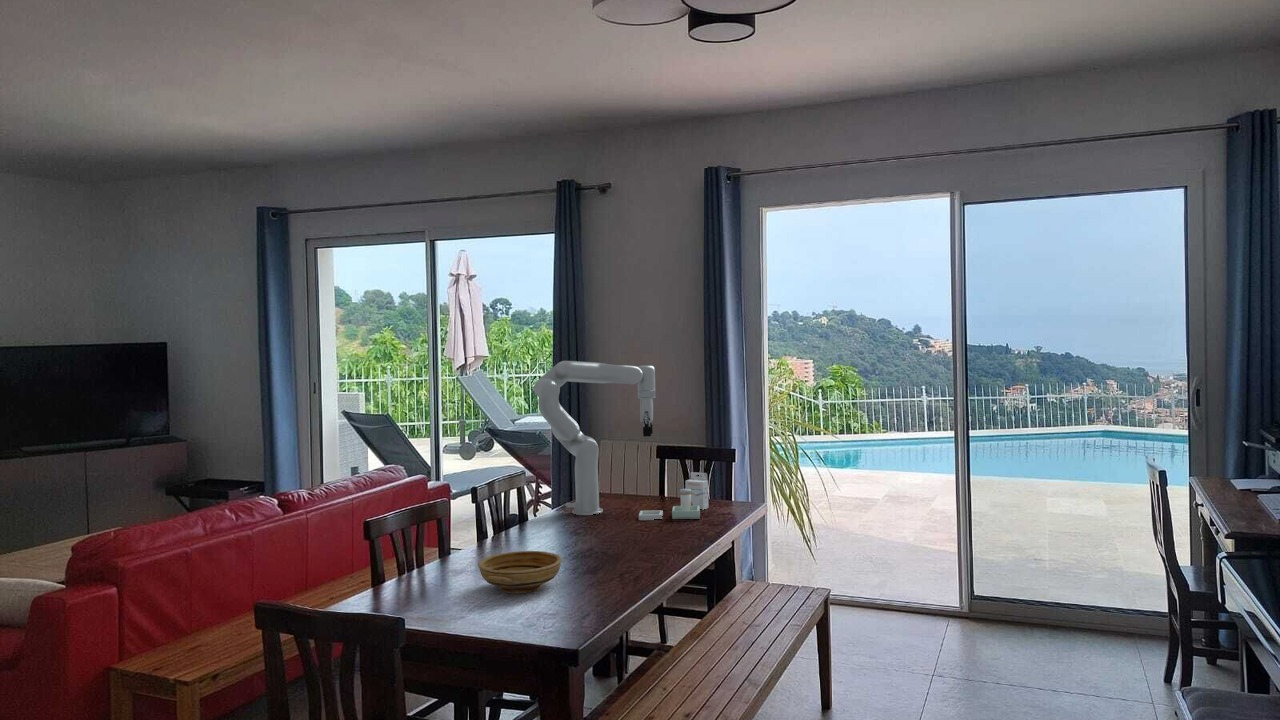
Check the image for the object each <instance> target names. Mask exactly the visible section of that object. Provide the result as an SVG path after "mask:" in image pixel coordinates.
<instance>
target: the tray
mask: <svg viewBox="0 0 1280 720" xmlns="http://www.w3.org/2000/svg"><path fill="white" fill-rule="evenodd" d="M671 518H672V519H701V510H700V506H691V511H681V505H673V506H672V510H671Z"/></svg>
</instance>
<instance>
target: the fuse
mask: <svg viewBox="0 0 1280 720" xmlns="http://www.w3.org/2000/svg"><path fill="white" fill-rule="evenodd" d="M679 493H680V494H679V495H680V497H679V498H680V506H681V511H691V489H685V488H681V489H679Z"/></svg>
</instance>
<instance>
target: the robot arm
mask: <svg viewBox="0 0 1280 720" xmlns="http://www.w3.org/2000/svg"><path fill="white" fill-rule="evenodd" d="M567 382H570V383H571V382H572V383H588V384H590V383H591V384H626V385H636V384H637V398H638V399H640V400H639V404H640V405H639V407H640V408H639V413H640V414H639V415H640V416H639V420H640V421H639V422H641V423H642V422H643V424H642V435H643V437H651V436H652V434H653V420H654V399H656V398H657V397H656V393H657V392H656V368H655V366H654V365H648V364H647V365H638V366H637V365H621V364H608V363H603V362H594V361H579V360H578V361H577V360H562V361H559V362H557V364H555V365H554V366H552V368H551V369H549V370H548V371H547V372H546V373H544V374H543V375H542V376H540V378H539V379H538V380H536V382H535V383H534V385H533V391H534V394H535V395H536V397H538V401H537V402H538V403H537V404H538V409H539V413H540V414H541V416H542V418H543V419H544V420H545V421H546V422H547V423H548V424H549V426H550V427H551V432H552V434H553V436H554V437H555V438H556V439H557V441H559V443H561V445H562V446H563V447H564V448H565V449H566V450H567V451H568V452H569V453H570V454H572V455H573V457H574V456H575V461H574V483H575V502H572V503H570V502H566V503H565V509H572V514H573V515H575V514H576V515H575V516H594V515H593V514H596V515H600V514H602V513H604V509H603V508H602V507H600V494H599V492H600V491H599V490H600V489H599V468H598V467H599V454H600V448H599V445H598V442H597V441H596V440H595V439H594V438H593V437H591V436H588V435H585V434H584V432H582V431H581V429H580V425H579V424H578V422H577V421H576V420H575V419H574V418H573V417H572V416H571V415H570V414H569V413H568V412H567V411H566V410H565V408H564V407H563V406H562V405H561V404H560V400H559V399H560V398H559V396H560V392H561V387H562V386H564V385H565V383H567ZM599 513H600V514H599Z"/></svg>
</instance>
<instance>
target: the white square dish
mask: <svg viewBox="0 0 1280 720" xmlns="http://www.w3.org/2000/svg"><path fill="white" fill-rule="evenodd" d="M663 515H664V511H663V510H657V509H656V510H640V511H639V513H638V521H655V520H654V519H662V520H663V517H664V516H663ZM662 516H663V517H662Z"/></svg>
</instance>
